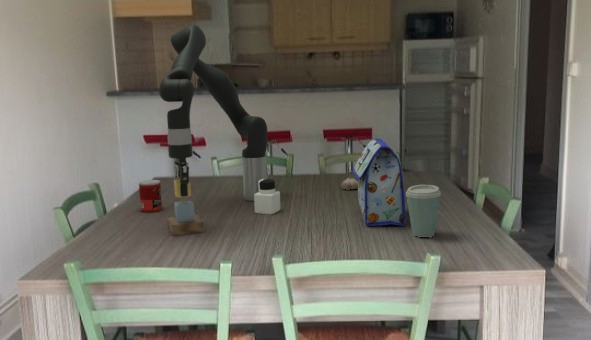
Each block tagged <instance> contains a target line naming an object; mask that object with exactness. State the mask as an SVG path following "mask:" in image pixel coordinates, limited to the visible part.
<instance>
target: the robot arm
mask: <svg viewBox="0 0 591 340" xmlns="http://www.w3.org/2000/svg"><path fill="white" fill-rule="evenodd" d="M170 43H171V45H172V47H173V49H174V51H175V52H176V53H177V56H176V58H175V59H174V60H173V63H172V65H171V69H170V71H169V73H168V74H166V76H165V77H163V79H162V81H161V83H160V85H159V91H158V92H159V95H160V98H161V99H162V100H163V101H164V102H168V103H175V102H176V103H177V102H178V103H180V102H181V103H182V104H181V106H180V107H178V108H174V109H169V110H168V111H167V113H166V114H167V115H166V120H167V148H168V157H169V158H170V159H175V161H174V162H173V163H174V164H173V165H174V175H175V180H178V179H179V181H180V183H179V184H180V191H181V196H182V197H181V198H184V197H183V196H188V187H187V184H188V183H189V180H190V173H189V172H190V171H189V170H190V166H189V162H187V158H192V157H193V138H192V131H191V118H190V117H191V116H190V115H191V108H192V107H191V106H192V102H193V97H194V94H195V93H194V92H195V85H194V84H193V81H192V77H193V73H194V74H195V75H196V76H197V77H198V79H199V81H200V82H202V84H203V85H204V87H205V88H206V90H207V91H208V93H209V94H210V95H211V96H212V98H213V99H214V100H215V102H216V103H217V104H218V105H219V107H220V108H221V109H222V110H223V112H224V113H225V114H226V115H227V117H228V118H229V120H230V121H231V123H232V125H233V126H234V128H235V130H236V132H237V133H238V134H239V136H240V137H241V138H243V139H246V140H247V145H246V147H245V148H243V149H242V151H241V157H242V158H241V159H242V160H241V161H242V178H243V179H242V182H243V199H244V201H249V202H254V194H256V193H258V192H260V191H259V185H258V182H259V181H260V180H262V179H269V176H268V175H267V163H266V160H267V159H266V152H267V150H268V127H267V126H268V125H267V122H266V120H265V119H264V118H263V117H261V116H253V115H250V114H249V113H248V112H247V111H246V110H245V108H244V107H243V105H242V104H241V102H240V98H239V94H238V90H237V87H236V86H235V84H234V83H233V81H232V80H231V78H230V77H229V75H228V74H227V73H226V72H225V71H223V70H222V69H219V68H217V67H215V66H212V65H210V64H208V63H205V62H204V61H203V60H201V59H200V56H201V54H202V52H203V51H204V49H205V47H206V44H207V39H206V36H205V33H204V31H203V29H201V27H199V26H198V25H196V24H191V25H188V26H186V27H184V28H182V29H181V30H179V31H177V32H175V33H174V34H172V35H171V36H170ZM183 179H186V180H183ZM188 197H189V196H188Z"/></svg>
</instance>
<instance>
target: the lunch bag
mask: <svg viewBox="0 0 591 340" xmlns="http://www.w3.org/2000/svg"><path fill="white" fill-rule="evenodd" d="M352 174H353V175H354V176H355V179H356V180H357V181H358V188H357V197H358V198H357V199H358V205H359V209H360V211H361V214H362V217H363V220H364V223H365V225H366V226H367V227H375V226H376V227H379V226H387V225H396V226H400V227H402V226H404V225H405V223H406V218H407V217H406V196H405V195H406V191H405V179H404V173H403V167H402V163H401V161H400V157H399V156H398V154H397V153H396V151H395V150H394V149H393V148H391V147H390V146H389V145H388V143H387V142H386V141H384V140H383V139H382V138H378V137H377V138H374V139H372V140H370V141H369V142H368V143H367V144H366V146H365V147H364V149H363V151H362V153H361V154H360V155H359V157H358V160H357V162H356V163H355V164H354V166H353V167H352Z"/></svg>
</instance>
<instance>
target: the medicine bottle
mask: <svg viewBox="0 0 591 340" xmlns="http://www.w3.org/2000/svg"><path fill="white" fill-rule="evenodd" d="M258 185H259V191H260V192H258V193H256V194H254V201H253V202H254V203H253V204H254V213H255V214H263V215H272V216H273V215H274V214H276V213H278V212H279V211H281V192H280V191H278V190H276V181H275V180H274V178H273V179H272V178H268V179H262V180H260V181H259V182H258Z"/></svg>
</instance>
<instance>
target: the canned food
mask: <svg viewBox="0 0 591 340" xmlns="http://www.w3.org/2000/svg"><path fill="white" fill-rule="evenodd" d="M138 189H139V190H138V192H139V203H140V211H142V212H143V213H156V212H159V211H162V209H163V204H162V203H163V201H162V185H161V180H158V179H146V180H145V179H144V180H140V181H139V182H138Z"/></svg>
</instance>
